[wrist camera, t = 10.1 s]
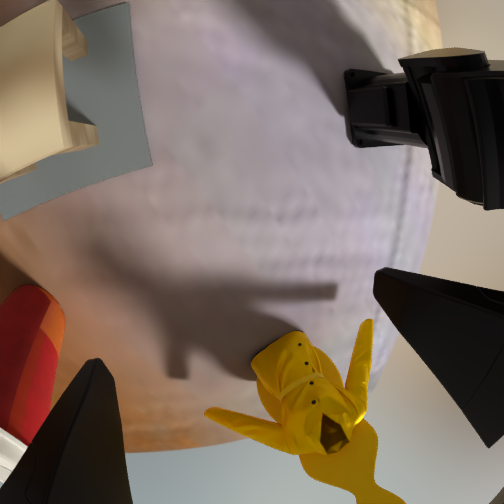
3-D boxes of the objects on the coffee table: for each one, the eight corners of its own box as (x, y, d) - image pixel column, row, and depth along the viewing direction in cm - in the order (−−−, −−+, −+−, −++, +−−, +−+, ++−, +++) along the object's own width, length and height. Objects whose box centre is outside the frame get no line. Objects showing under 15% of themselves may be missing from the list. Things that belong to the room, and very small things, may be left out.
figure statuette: (349, 287, 25) (518, 447, 6) (359, 335, 29) (481, 469, 10) (187, 378, 24) (263, 601, 4) (223, 411, 27) (296, 580, 8)
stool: (99, 144, 14) (64, 147, 8) (23, 175, 13) (-33, 197, 7) (87, 39, 11) (55, -3, 5) (10, 75, 9) (-43, 58, 3)
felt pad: (129, 4, 11) (129, 2, 10) (152, 164, 16) (152, 165, 16) (-17, 71, 8) (-20, 70, 8) (5, 219, 13) (2, 221, 13)
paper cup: (-11, 304, 15) (-74, 429, 2) (28, 252, 15) (-69, 398, 3) (49, 362, 18) (26, 498, 6) (96, 323, 19) (78, 493, 6)
